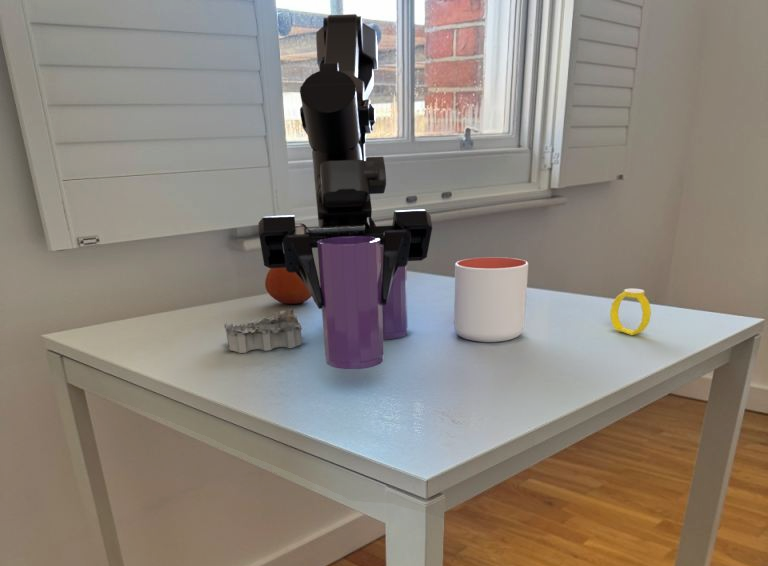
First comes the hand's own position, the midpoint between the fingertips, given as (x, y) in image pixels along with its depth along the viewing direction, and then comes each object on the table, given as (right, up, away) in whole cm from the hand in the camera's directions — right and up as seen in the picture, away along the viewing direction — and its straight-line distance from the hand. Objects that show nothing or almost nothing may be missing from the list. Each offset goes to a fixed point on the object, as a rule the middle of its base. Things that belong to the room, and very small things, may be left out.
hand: (352, 304), depth 75 cm
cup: (+18, +3, +26) cm, 32 cm away
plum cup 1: (0, -5, +4) cm, 7 cm away
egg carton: (-14, +1, +25) cm, 28 cm away
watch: (+38, +3, +24) cm, 46 cm away
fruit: (-13, +15, +49) cm, 53 cm away
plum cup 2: (+3, +4, +28) cm, 28 cm away
